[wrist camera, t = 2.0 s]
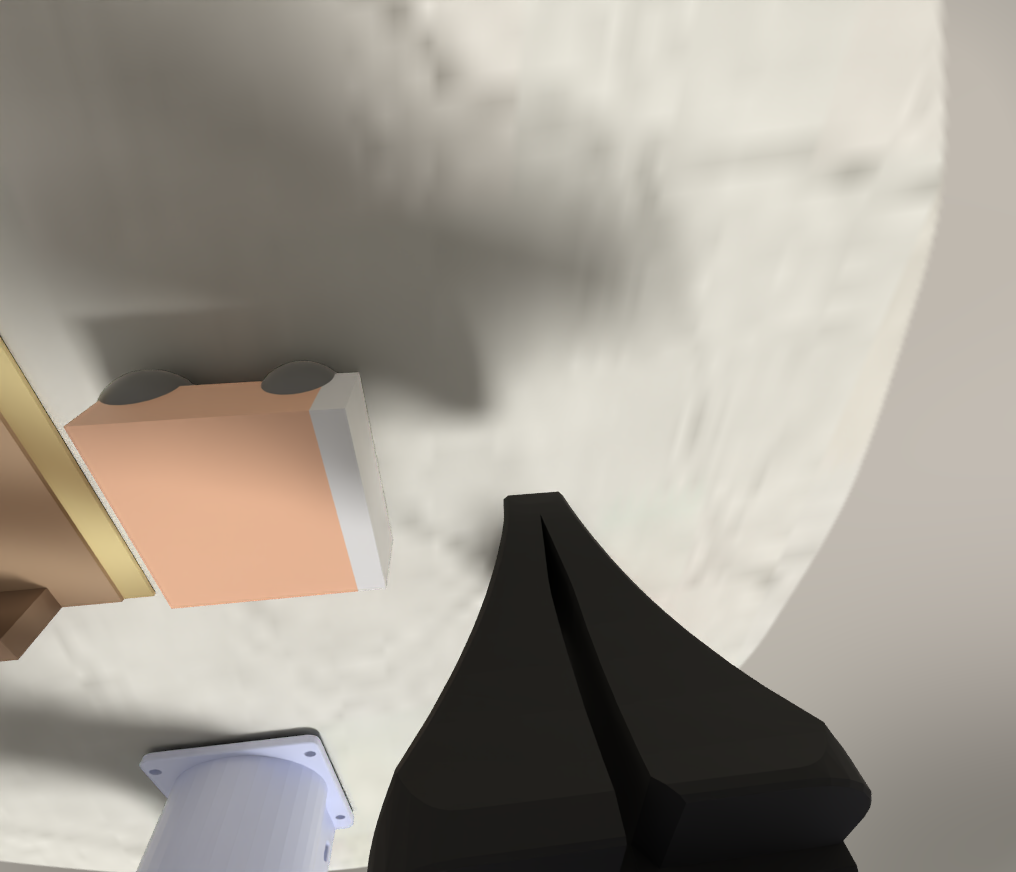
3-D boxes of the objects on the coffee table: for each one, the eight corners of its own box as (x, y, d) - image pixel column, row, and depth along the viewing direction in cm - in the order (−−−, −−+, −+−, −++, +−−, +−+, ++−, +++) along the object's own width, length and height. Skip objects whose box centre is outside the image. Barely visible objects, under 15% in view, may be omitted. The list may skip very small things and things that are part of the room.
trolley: (397, 528, 17) (388, 597, 14) (204, 544, 16) (158, 619, 14) (362, 344, 13) (341, 392, 11) (113, 357, 13) (28, 411, 10)
